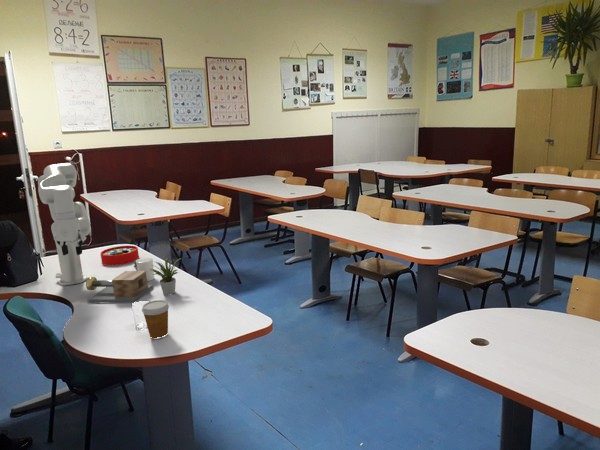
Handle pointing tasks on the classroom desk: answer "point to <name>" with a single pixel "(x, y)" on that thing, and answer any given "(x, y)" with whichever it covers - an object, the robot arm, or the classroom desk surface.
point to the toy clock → (119, 255)
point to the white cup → (146, 267)
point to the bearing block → (129, 284)
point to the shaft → (97, 283)
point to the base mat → (108, 296)
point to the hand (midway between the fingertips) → (72, 254)
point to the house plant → (167, 277)
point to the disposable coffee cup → (156, 317)
